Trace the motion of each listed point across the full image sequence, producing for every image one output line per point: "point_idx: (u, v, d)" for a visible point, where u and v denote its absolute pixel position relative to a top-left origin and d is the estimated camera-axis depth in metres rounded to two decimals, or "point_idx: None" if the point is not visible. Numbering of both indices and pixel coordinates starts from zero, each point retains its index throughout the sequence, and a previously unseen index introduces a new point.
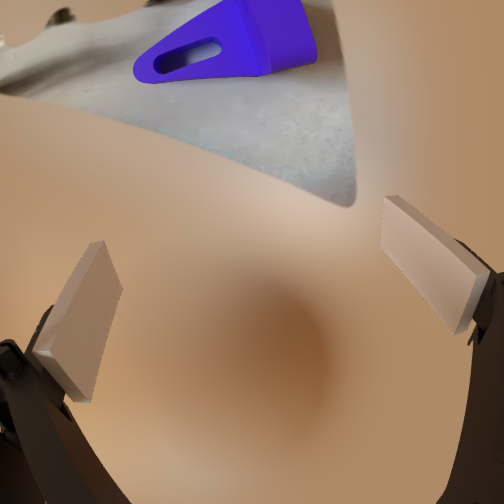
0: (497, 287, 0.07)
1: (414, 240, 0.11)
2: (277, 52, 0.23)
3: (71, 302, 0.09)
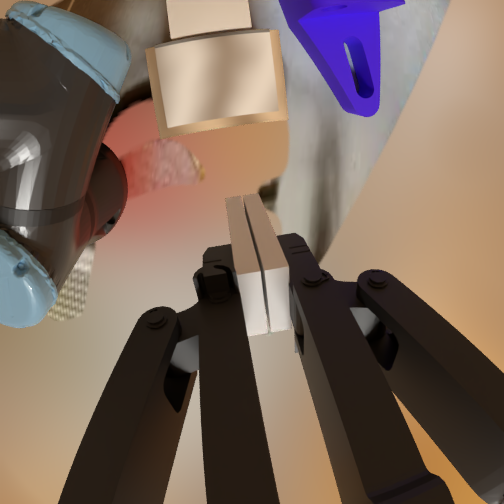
0: (297, 293, 0.08)
1: (252, 236, 0.13)
2: None
3: (251, 236, 0.11)
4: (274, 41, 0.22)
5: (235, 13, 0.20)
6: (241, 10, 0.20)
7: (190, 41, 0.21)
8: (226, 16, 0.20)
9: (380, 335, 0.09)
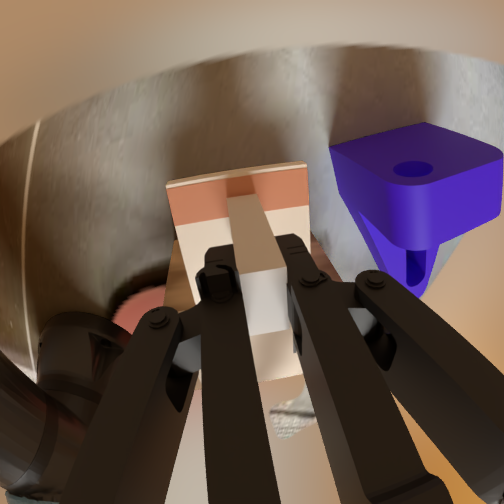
0: (295, 293, 0.08)
1: None
2: (498, 207, 0.16)
3: (253, 236, 0.11)
4: None
5: None
6: None
7: None
8: None
9: (378, 336, 0.09)
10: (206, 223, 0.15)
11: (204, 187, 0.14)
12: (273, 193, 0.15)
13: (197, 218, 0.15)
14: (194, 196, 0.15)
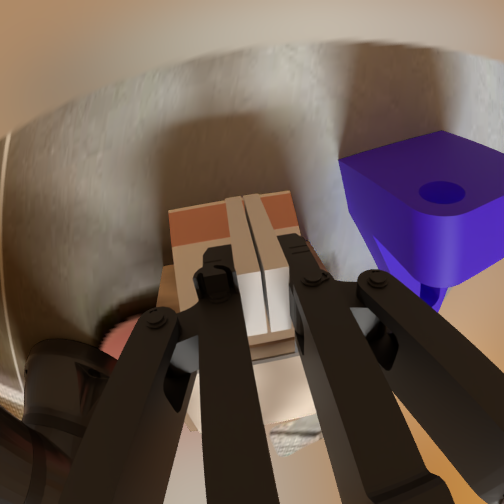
0: (297, 293, 0.08)
1: (252, 236, 0.13)
2: None
3: (251, 236, 0.11)
4: None
5: None
6: None
7: None
8: None
9: (380, 335, 0.09)
10: (201, 245, 0.16)
11: (201, 211, 0.17)
12: None
13: (193, 239, 0.16)
14: (192, 219, 0.17)
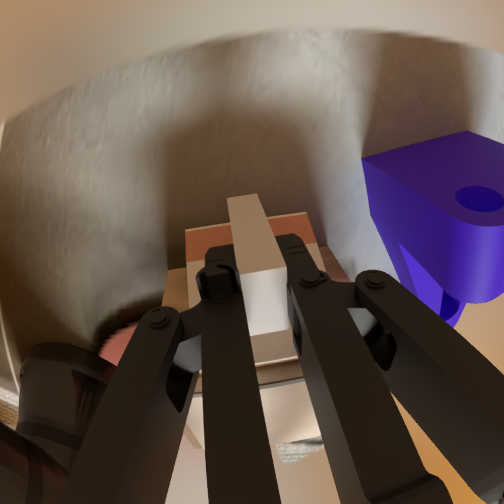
0: (294, 293, 0.08)
1: None
2: None
3: (253, 236, 0.11)
4: None
5: None
6: None
7: None
8: None
9: (378, 336, 0.09)
10: None
11: (218, 229, 0.17)
12: (280, 233, 0.17)
13: None
14: (208, 237, 0.17)
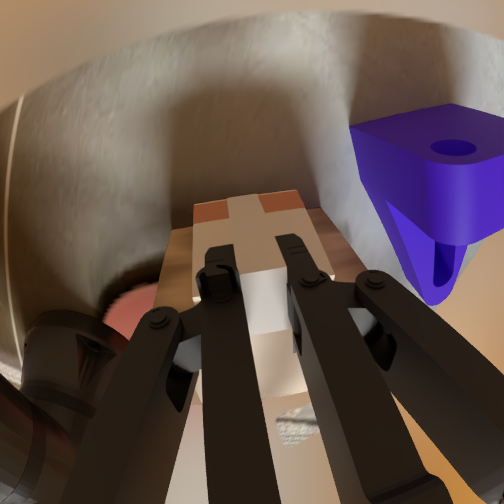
0: (295, 293, 0.08)
1: None
2: None
3: (253, 236, 0.11)
4: None
5: None
6: (312, 252, 0.16)
7: None
8: None
9: (378, 336, 0.09)
10: (219, 221, 0.18)
11: (221, 202, 0.20)
12: (273, 202, 0.19)
13: (212, 218, 0.19)
14: (213, 207, 0.20)
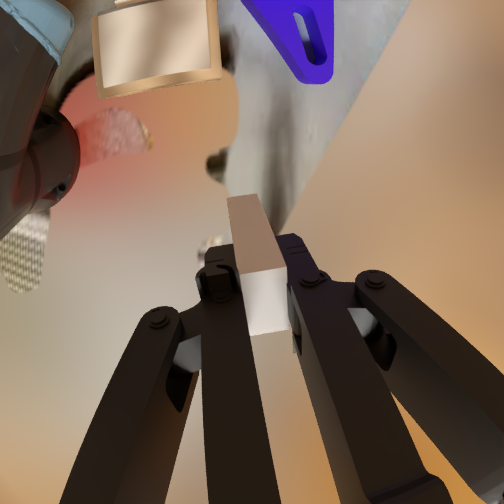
0: (295, 293, 0.08)
1: None
2: None
3: (253, 236, 0.11)
4: (211, 3, 0.20)
5: None
6: None
7: (129, 7, 0.18)
8: None
9: (378, 336, 0.09)
10: None
11: None
12: None
13: None
14: None
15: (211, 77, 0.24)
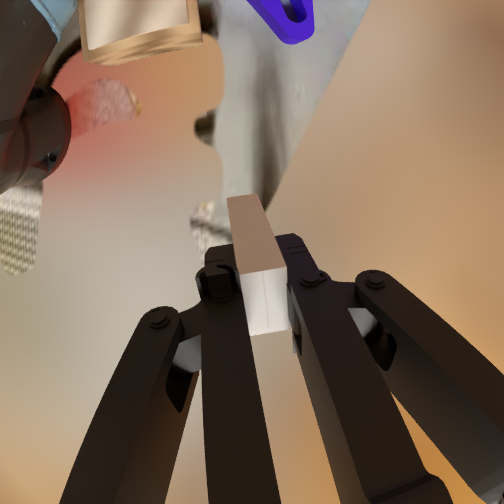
0: (295, 293, 0.08)
1: None
2: None
3: (253, 236, 0.11)
4: None
5: None
6: None
7: None
8: None
9: (378, 336, 0.09)
10: None
11: None
12: None
13: None
14: None
15: (190, 31, 0.22)
